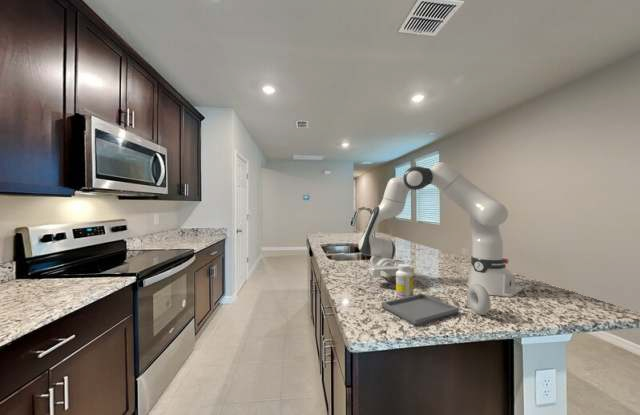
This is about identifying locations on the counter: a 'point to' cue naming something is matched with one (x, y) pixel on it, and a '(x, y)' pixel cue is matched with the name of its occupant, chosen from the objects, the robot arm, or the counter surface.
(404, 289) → the supplement bottle
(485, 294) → the donut
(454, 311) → the drying tray
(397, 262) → the robot arm
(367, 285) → the counter surface
